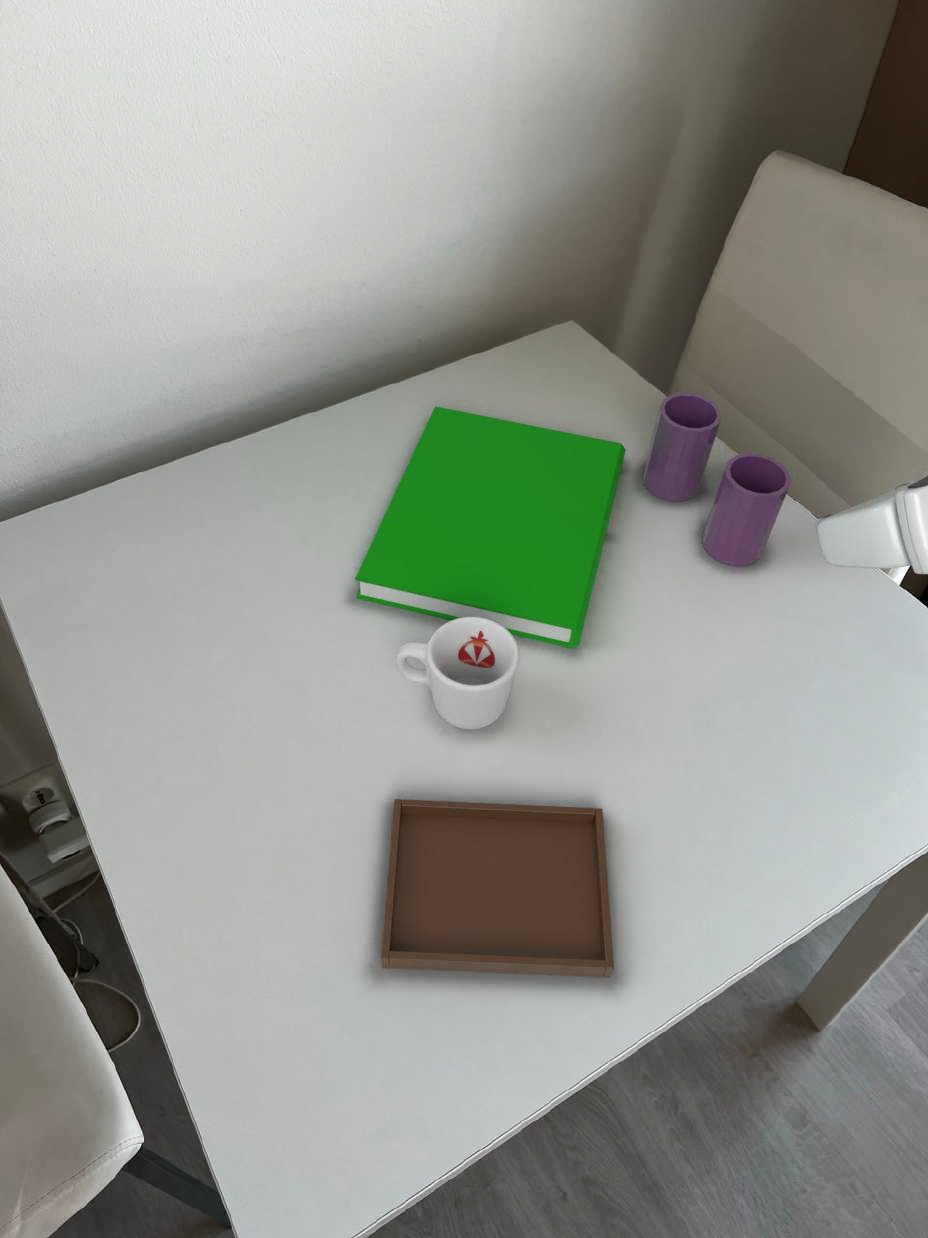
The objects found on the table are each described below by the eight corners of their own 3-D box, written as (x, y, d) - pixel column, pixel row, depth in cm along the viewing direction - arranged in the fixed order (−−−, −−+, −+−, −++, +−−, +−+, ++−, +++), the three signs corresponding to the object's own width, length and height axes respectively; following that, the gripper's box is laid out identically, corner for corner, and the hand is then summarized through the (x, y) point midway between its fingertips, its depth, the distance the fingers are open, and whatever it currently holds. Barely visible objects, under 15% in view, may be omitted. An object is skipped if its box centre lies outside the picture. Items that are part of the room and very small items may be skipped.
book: (356, 598, 94) (355, 578, 92) (434, 426, 112) (435, 406, 110) (577, 649, 91) (582, 629, 89) (622, 464, 109) (626, 444, 107)
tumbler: (695, 465, 109) (716, 394, 102) (702, 503, 105) (725, 432, 98) (640, 462, 109) (657, 391, 102) (645, 500, 105) (663, 429, 98)
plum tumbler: (756, 525, 103) (784, 454, 96) (767, 568, 99) (796, 498, 92) (698, 522, 103) (721, 451, 96) (706, 565, 99) (730, 494, 92)
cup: (385, 723, 85) (383, 670, 79) (409, 655, 90) (409, 600, 84) (502, 750, 84) (509, 698, 78) (520, 680, 89) (528, 625, 83)
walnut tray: (598, 819, 80) (602, 808, 78) (609, 978, 71) (614, 968, 70) (394, 810, 80) (394, 798, 78) (381, 968, 71) (380, 958, 70)
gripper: (1086, 417, 73) (938, 441, 86) (893, 498, 67) (764, 511, 80) (1103, 495, 74) (954, 508, 87) (914, 582, 68) (783, 582, 81)
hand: (862, 510), depth 83 cm, fingers open, 8 cm apart
